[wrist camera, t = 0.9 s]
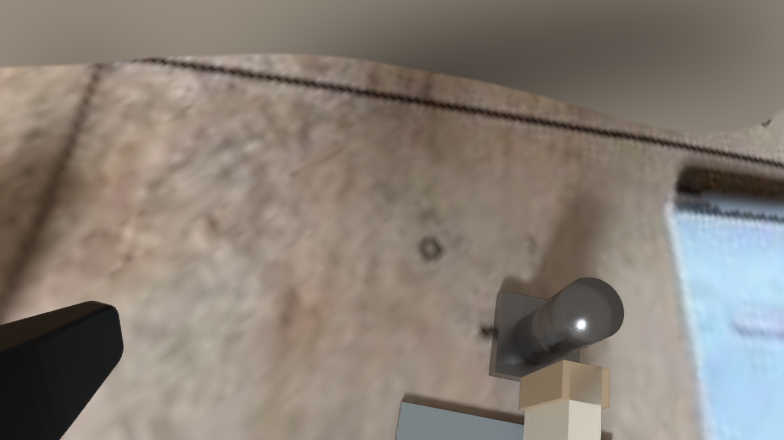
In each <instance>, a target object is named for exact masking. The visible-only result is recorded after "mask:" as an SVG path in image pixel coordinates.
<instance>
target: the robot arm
mask: <svg viewBox="0 0 784 440" xmlns="http://www.w3.org/2000/svg"><path fill="white" fill-rule="evenodd" d="M123 349H124V345H123V338H122V332H121V326H120V320H119V314H118V311H117V310H116V308H115V307H113V306H112V305H109V304H105V303H101V302H97V301H87V302H83V303H80V304H76V305H72V306H69V307H65V308H61V309H58V310H54V311H50V312H47V313H43V314H39V315H36V316H32V317H29V318H25V319H21V320H18V321H14V322H10V323H7V324H3V325H0V440H60V439H61V437H62V436H63V435H64V434H65V432H66V431H67V430H68V429H69V427H70V426H71V425H72V423H73V422H74V421H75V419H76V418H77V417H78V415H79V414H80V413H81V411H82V410H83V409H84V407H85V406H86V405H87V403H88V402H89V401H90V399H91V398H92V397H93V395H94V394H95V393H96V391H97V390H98V389H99V387H100V386H101V385H102V383H103V382H104V381H105V380H106V378H107V377H108V376H109V374H110V373H111V372H112V370H113V369H114V368H115V366H116V365H117V364H118V362H119V361H120V359H121V357H122V354H123Z"/></svg>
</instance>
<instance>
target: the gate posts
mask: <svg viewBox="0 0 784 440" xmlns="http://www.w3.org/2000/svg"><path fill="white" fill-rule="evenodd" d="M623 318H624V308H623V304H622V301H621V299H620V297H619V295H618V294H617V292H616V291H615V290H614V289H613V288H612V287H611V286H610V285H609V284H607V283H606V282H604V281H602V280H600V279H597V278H591V277H586V278H581V279H578V280H576V281H574V282H573V283H571V284H570V285H568V286H567V287H566V288H564V289H563V290H562V291H560V292H559V293H557V294H556V295H555V296H553V297H552V298H550V299H549V300H546V299H541V298H536V297H531V296H526V295H521V294H516V293H511V292H506V291H502V292H501V293H500V294H499V295H498V296H497V300H496V310H495V320H494V330H493V340H492V350H491V360H490V371H489V375H490V376H495V377H500V378H505V379H510V380H515V381H520V382H521V377H524V376H526V375H528V374H531V373H533V372H536V371H538V370H540V369H543V368H545V367H547V366H550V365H552V364H555V363H557V362H559V361H562V360H567V361H572V362H577V363H579V350H580V349H582V348H585V347H587V346H589V345H591V344H594V343H596V342H598V341H601V340H603V339H605V338H608V337H610V336H612V335H613V334H615V333H616V332H617V331H618V330H619V328H620V327H621V325H622V322H623Z"/></svg>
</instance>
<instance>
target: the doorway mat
mask: <svg viewBox="0 0 784 440" xmlns="http://www.w3.org/2000/svg"><path fill="white" fill-rule="evenodd" d="M523 433H524V425H521V424H515V423H510V422H505V421H500V420H495V419H489V418H484V417H479V416H474V415H469V414H464V413H458V412H453V411H448V410H443V409H438V408H433V407H427V406H422V405H417V404H412V403H407V402H401V405H400V411H399V418H398V424H397V430H396V437H395V440H523Z"/></svg>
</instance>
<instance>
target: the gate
mask: <svg viewBox="0 0 784 440" xmlns="http://www.w3.org/2000/svg"><path fill="white" fill-rule="evenodd" d="M609 384H610V369H607V368H602V367H597V366H592V365H587V364H582V363H577V362H572V361H567V360H562V361H559V362H557V363H555V364H552V365H550V366H547V367H545V368H543V369H540V370H538V371H536V372H533V373H531V374H528V375H526V376H524V377H521V384H520V397H519V410H525V419H524V433H523V440H601V409H603V408H609Z"/></svg>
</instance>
